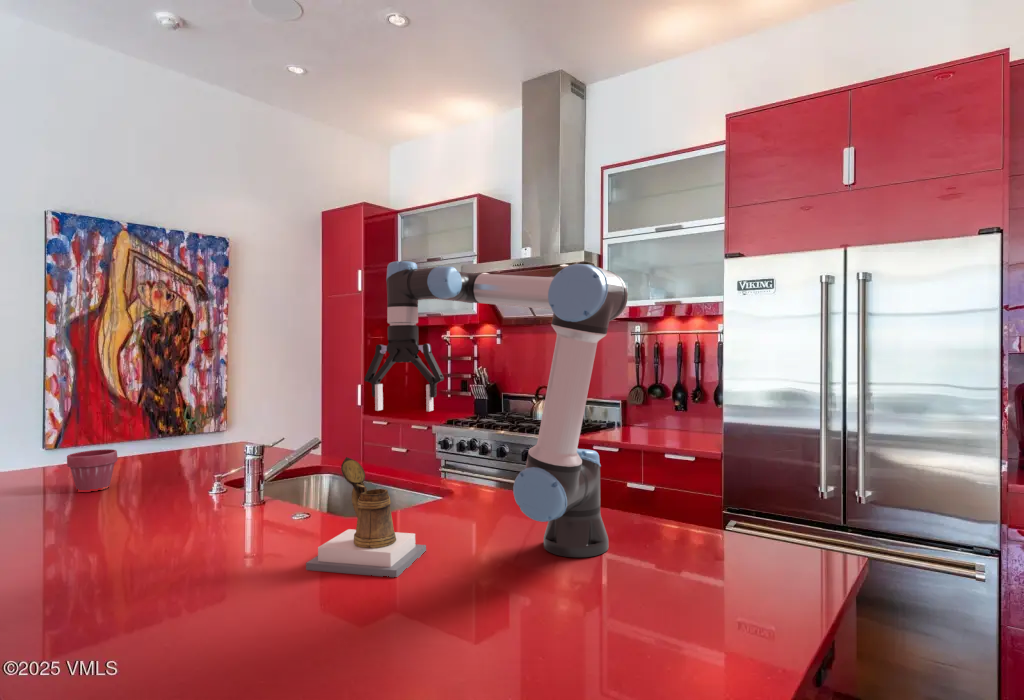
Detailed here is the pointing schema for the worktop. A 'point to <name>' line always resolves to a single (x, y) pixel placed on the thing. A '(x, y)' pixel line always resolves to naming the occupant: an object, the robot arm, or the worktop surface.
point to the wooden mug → (369, 509)
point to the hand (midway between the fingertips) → (404, 410)
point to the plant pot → (92, 468)
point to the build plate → (368, 568)
